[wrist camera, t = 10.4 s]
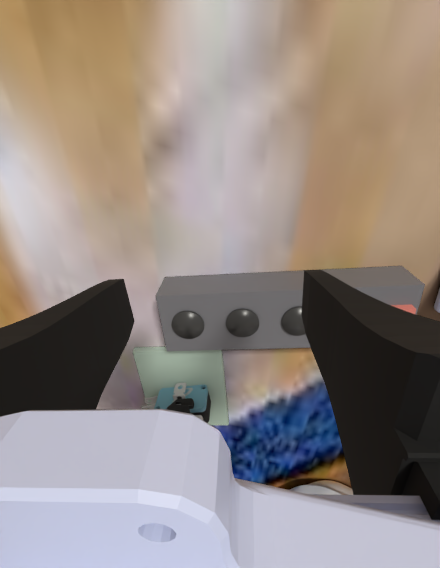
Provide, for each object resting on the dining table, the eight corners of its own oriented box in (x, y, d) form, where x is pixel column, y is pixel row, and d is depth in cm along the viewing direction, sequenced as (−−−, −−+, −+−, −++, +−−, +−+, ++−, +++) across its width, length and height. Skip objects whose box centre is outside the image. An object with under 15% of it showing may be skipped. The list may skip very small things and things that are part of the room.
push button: (153, 414, 30) (118, 532, 21) (138, 376, 28) (91, 492, 19) (217, 409, 29) (208, 530, 20) (207, 369, 27) (192, 487, 18)
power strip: (401, 265, 22) (430, 289, 18) (389, 321, 24) (412, 350, 21) (164, 277, 23) (153, 300, 20) (174, 328, 25) (165, 356, 22)
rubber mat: (221, 345, 26) (221, 349, 25) (228, 420, 31) (228, 425, 30) (134, 347, 27) (132, 351, 26) (154, 420, 31) (153, 425, 31)
